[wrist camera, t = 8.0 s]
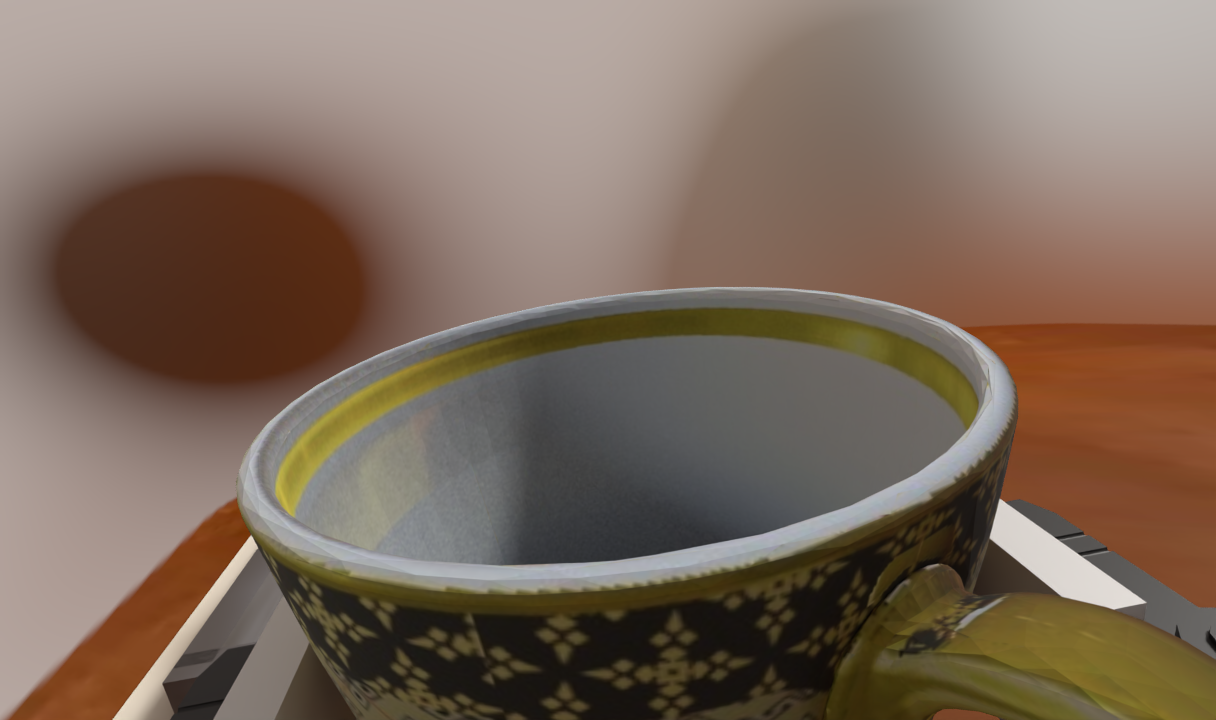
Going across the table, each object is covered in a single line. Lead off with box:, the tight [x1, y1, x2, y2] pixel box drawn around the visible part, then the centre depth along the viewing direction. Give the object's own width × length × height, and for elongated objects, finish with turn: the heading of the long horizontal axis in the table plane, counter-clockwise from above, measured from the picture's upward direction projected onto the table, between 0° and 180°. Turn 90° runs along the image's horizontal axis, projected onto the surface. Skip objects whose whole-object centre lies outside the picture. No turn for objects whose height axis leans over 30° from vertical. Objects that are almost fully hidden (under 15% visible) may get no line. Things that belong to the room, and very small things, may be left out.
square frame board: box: [113, 535, 283, 720], centre depth 29 cm, size 22×20×3 cm
